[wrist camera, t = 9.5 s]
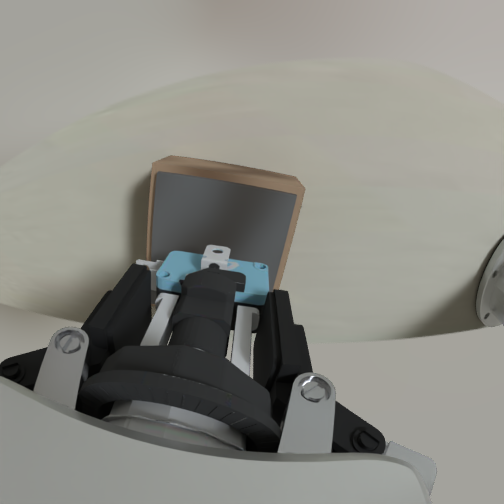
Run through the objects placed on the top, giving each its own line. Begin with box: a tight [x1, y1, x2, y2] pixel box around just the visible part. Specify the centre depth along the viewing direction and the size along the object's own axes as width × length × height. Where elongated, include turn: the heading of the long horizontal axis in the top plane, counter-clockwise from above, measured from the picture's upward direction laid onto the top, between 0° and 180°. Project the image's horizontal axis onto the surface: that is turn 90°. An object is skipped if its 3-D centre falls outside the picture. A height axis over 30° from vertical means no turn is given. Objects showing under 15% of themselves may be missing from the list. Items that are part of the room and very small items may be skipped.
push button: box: [78, 245, 281, 453], centre depth 9 cm, size 7×5×10 cm
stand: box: [146, 156, 305, 306], centre depth 17 cm, size 8×9×4 cm
